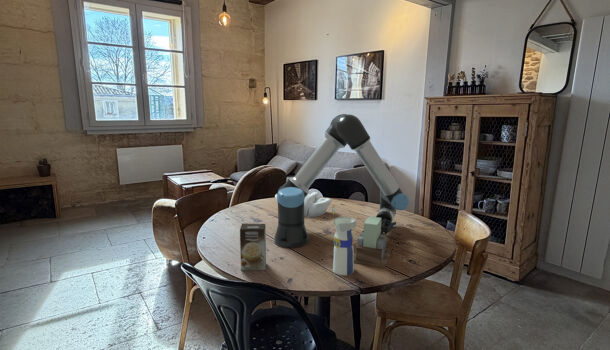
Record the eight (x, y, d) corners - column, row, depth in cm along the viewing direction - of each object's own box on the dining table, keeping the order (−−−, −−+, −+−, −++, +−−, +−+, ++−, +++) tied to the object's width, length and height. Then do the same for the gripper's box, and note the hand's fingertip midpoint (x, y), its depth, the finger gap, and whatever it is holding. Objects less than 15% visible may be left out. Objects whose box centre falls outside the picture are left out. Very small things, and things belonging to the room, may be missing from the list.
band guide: (360, 247, 143) (360, 227, 141) (391, 252, 138) (392, 231, 136) (351, 261, 129) (351, 239, 128) (385, 267, 124) (386, 244, 123)
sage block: (367, 248, 138) (368, 216, 135) (380, 250, 136) (381, 217, 133) (362, 257, 130) (363, 223, 127) (375, 259, 128) (377, 224, 125)
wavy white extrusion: (268, 211, 196) (267, 193, 194) (283, 204, 210) (283, 187, 208) (322, 220, 179) (322, 201, 177) (334, 212, 194) (334, 194, 192)
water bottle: (343, 278, 116) (344, 209, 112) (327, 269, 123) (327, 203, 119) (359, 271, 121) (361, 205, 117) (343, 263, 128) (345, 200, 123)
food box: (240, 271, 122) (238, 229, 119) (242, 263, 128) (241, 223, 125) (265, 270, 123) (264, 228, 119) (266, 262, 129) (265, 222, 126)
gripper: (398, 227, 156) (391, 246, 134) (370, 224, 160) (359, 242, 139) (399, 212, 154) (392, 229, 133) (370, 209, 159) (359, 225, 138)
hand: (375, 235), depth 136 cm, fingers closed
